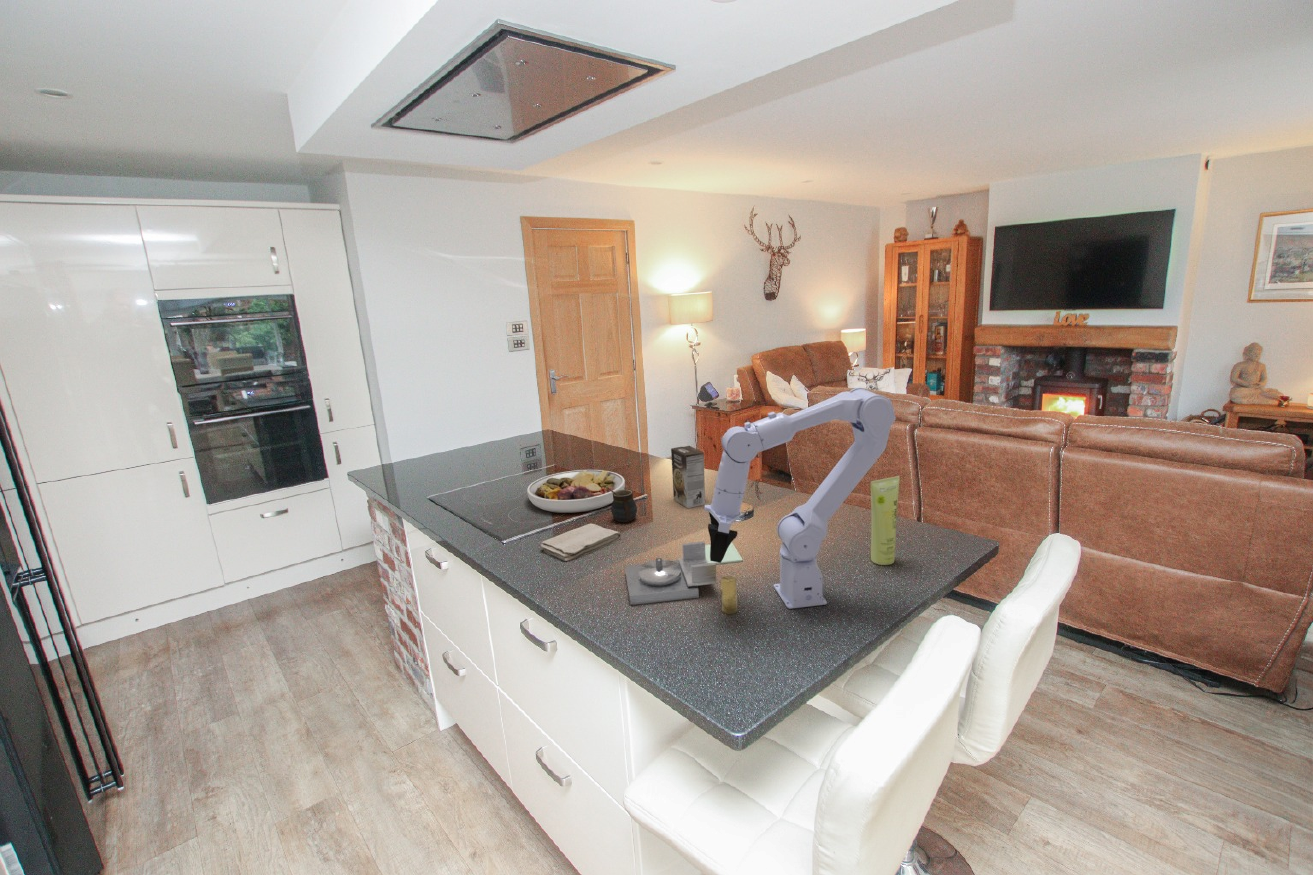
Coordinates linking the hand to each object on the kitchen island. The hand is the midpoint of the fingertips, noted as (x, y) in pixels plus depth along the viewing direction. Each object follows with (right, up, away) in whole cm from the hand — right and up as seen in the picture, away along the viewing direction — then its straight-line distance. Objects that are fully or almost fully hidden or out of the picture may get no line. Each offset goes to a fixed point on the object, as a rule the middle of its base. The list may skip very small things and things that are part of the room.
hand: (715, 553), depth 118 cm
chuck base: (-11, -9, +10) cm, 17 cm away
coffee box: (-2, +4, +59) cm, 59 cm away
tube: (+39, -5, +15) cm, 42 cm away
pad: (+2, -5, +23) cm, 24 cm away
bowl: (-36, +4, +68) cm, 77 cm away
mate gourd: (-21, 0, +48) cm, 52 cm away
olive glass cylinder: (+3, -11, -1) cm, 11 cm away
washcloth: (-31, -5, +34) cm, 46 cm away
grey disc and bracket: (-8, -6, +10) cm, 14 cm away
